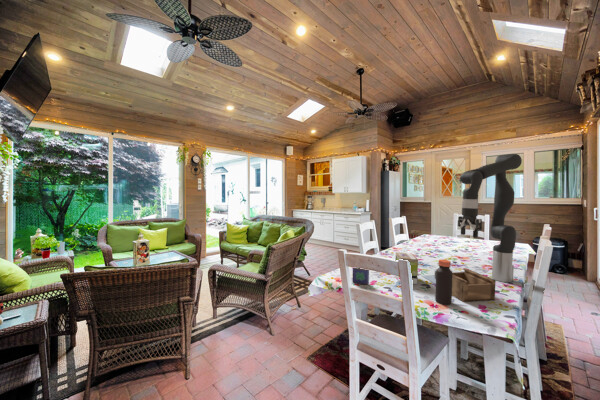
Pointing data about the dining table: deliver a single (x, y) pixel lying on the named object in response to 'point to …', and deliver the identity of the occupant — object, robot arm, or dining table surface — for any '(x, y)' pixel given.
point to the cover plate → (431, 278)
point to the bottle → (444, 283)
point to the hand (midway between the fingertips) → (468, 236)
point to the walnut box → (472, 286)
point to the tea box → (413, 263)
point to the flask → (360, 276)
